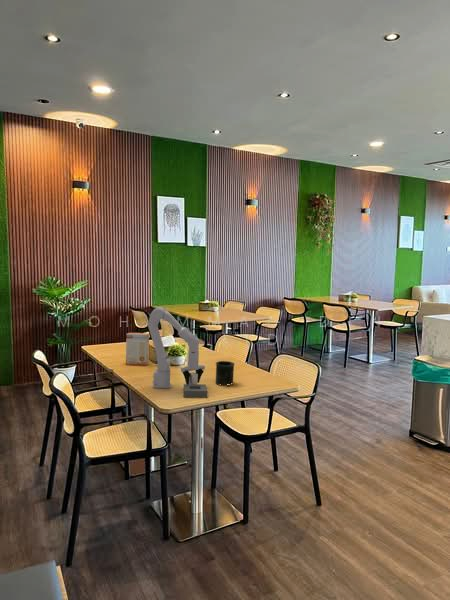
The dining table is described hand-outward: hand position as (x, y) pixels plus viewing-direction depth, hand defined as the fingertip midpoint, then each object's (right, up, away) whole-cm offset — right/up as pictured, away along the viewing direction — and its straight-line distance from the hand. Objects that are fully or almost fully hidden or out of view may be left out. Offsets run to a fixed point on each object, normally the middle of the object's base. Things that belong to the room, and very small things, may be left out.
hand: (192, 383), depth 249 cm
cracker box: (-40, +3, +48) cm, 63 cm away
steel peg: (0, -2, 0) cm, 2 cm away
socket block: (+2, -4, -12) cm, 12 cm away
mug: (+17, -2, +12) cm, 21 cm away
